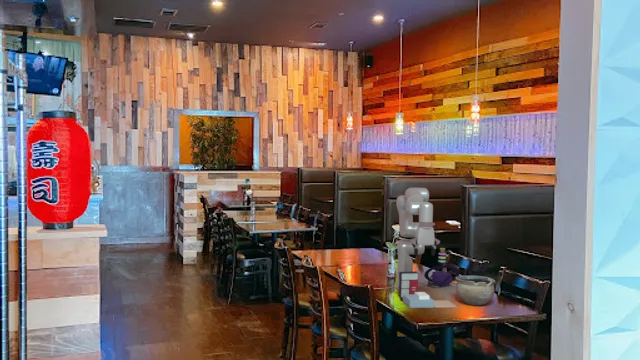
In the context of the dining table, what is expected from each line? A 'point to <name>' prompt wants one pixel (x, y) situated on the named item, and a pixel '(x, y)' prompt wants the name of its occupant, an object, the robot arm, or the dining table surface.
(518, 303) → the dining table surface
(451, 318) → the dining table surface
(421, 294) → the tile
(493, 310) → the dining table surface
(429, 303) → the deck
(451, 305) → the mat
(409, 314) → the dining table surface
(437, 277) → the decorative bottle
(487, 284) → the ceramic bowl
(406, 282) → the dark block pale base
